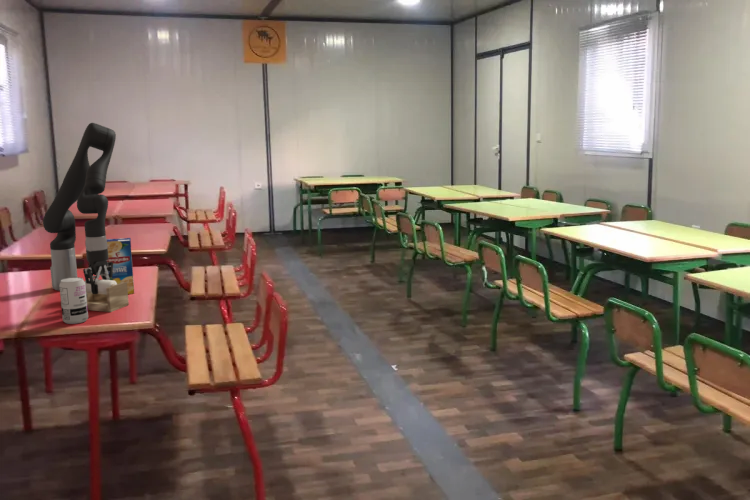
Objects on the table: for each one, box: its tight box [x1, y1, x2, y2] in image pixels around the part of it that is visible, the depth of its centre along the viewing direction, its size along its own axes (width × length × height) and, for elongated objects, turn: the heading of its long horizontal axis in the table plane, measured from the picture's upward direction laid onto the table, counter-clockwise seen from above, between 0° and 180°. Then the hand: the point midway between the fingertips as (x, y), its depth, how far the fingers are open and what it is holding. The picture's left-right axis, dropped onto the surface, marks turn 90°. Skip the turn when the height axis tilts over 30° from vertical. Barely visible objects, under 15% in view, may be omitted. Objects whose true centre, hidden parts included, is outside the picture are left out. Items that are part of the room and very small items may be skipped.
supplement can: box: [59, 276, 89, 325], centre depth 236 cm, size 8×8×15 cm
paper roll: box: [84, 278, 117, 295], centre depth 254 cm, size 12×6×6 cm, turn 73°
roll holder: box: [84, 280, 130, 313], centre depth 254 cm, size 17×11×9 cm
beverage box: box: [106, 237, 135, 295], centre depth 274 cm, size 7×11×22 cm, turn 109°
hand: (100, 291), depth 254 cm, fingers closed on paper roll, 5 cm apart
